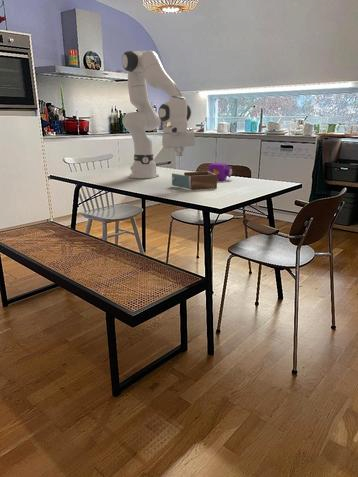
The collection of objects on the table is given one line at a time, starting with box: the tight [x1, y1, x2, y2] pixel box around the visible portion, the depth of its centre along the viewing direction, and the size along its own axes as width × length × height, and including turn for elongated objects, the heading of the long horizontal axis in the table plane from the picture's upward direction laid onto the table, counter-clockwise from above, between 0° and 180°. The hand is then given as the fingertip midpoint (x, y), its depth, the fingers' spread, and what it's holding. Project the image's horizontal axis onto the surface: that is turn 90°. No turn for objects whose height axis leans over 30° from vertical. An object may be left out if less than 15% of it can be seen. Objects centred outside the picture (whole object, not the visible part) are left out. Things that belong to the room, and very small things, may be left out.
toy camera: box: [208, 161, 233, 181], centre depth 223 cm, size 11×14×10 cm
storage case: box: [183, 170, 218, 191], centre depth 202 cm, size 14×14×7 cm
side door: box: [171, 172, 192, 190], centre depth 198 cm, size 14×2×7 cm, turn 41°
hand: (179, 155), depth 199 cm, fingers closed
